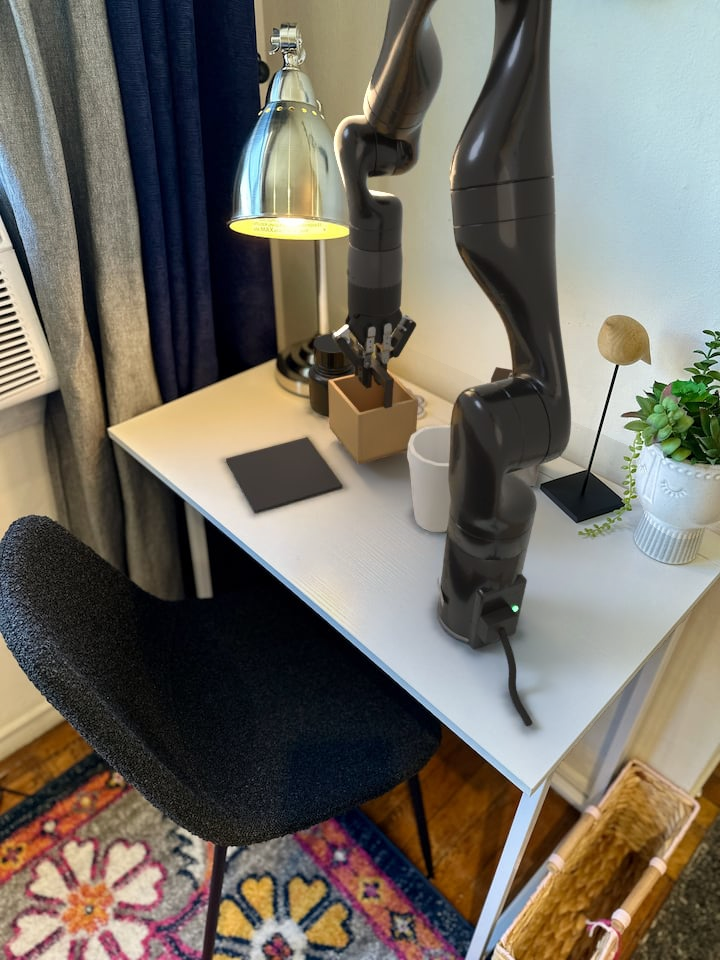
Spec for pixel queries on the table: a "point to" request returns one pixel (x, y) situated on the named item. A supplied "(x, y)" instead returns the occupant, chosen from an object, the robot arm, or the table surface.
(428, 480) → the foam cup
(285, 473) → the bin mat
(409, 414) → the handled storage bin
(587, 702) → the table surface
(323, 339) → the ink bottle
